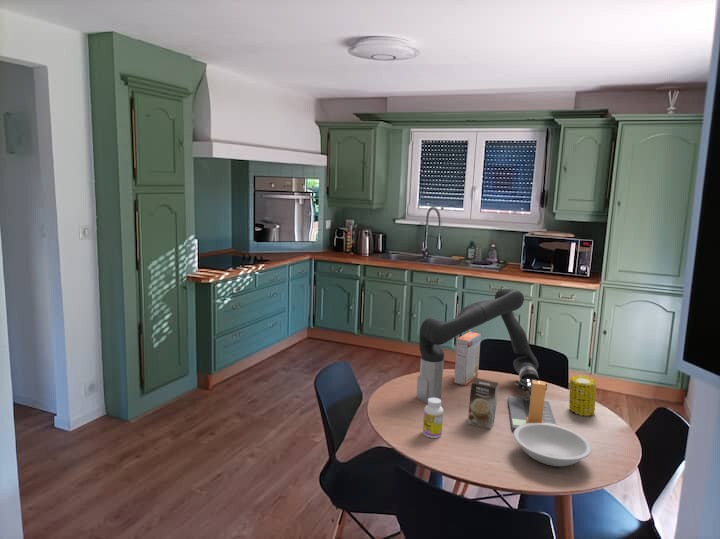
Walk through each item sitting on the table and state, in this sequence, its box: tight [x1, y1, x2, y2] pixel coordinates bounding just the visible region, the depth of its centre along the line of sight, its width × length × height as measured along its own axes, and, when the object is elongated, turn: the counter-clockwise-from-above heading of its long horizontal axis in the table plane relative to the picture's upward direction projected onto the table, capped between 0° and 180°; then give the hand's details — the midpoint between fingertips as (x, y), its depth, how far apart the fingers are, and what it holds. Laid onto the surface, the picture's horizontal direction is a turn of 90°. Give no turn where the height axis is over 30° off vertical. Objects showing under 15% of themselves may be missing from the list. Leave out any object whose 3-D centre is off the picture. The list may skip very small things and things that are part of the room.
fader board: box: [507, 396, 557, 433], centre depth 200 cm, size 28×16×4 cm, turn 168°
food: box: [568, 374, 597, 417], centre depth 206 cm, size 15×12×10 cm
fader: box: [526, 380, 547, 423], centre depth 189 cm, size 4×6×16 cm
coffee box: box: [467, 377, 499, 430], centre depth 192 cm, size 9×6×16 cm
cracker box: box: [453, 331, 482, 386], centre depth 233 cm, size 14×6×21 cm, turn 144°
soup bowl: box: [513, 423, 593, 467], centre depth 170 cm, size 24×24×7 cm
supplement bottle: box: [422, 398, 444, 439], centre depth 182 cm, size 7×7×13 cm
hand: (533, 393), depth 201 cm, fingers closed
